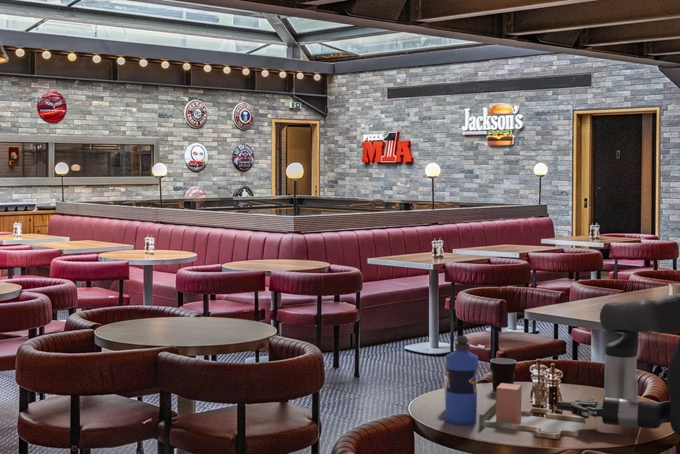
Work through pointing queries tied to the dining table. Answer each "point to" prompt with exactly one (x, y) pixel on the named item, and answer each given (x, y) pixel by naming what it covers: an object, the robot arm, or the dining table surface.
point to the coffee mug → (502, 371)
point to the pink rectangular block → (508, 403)
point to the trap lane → (536, 422)
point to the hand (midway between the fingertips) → (557, 405)
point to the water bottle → (461, 384)
